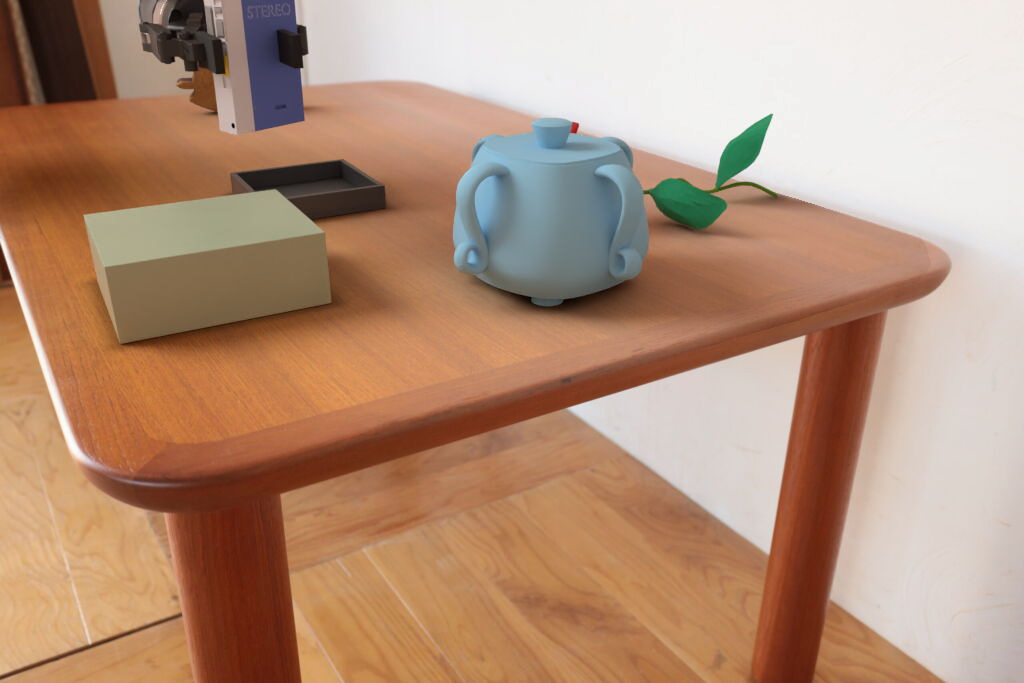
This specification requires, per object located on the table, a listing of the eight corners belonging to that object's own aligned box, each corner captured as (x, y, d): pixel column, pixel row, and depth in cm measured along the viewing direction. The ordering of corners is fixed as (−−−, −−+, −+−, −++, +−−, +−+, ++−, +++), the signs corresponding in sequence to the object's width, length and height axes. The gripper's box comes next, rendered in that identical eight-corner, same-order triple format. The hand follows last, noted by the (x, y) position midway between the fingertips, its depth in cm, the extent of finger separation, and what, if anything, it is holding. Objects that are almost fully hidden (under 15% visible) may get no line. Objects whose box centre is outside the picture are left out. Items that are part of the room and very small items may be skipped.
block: (97, 282, 76) (83, 214, 74) (283, 252, 83) (275, 188, 81) (120, 344, 65) (104, 267, 62) (331, 303, 72) (325, 232, 70)
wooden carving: (283, 104, 149) (276, 41, 144) (288, 109, 145) (282, 45, 141) (179, 112, 143) (169, 47, 138) (182, 118, 139) (171, 50, 135)
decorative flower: (833, 230, 89) (850, 132, 85) (547, 253, 83) (550, 148, 79) (766, 191, 102) (777, 104, 97) (512, 209, 95) (512, 116, 91)
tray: (232, 194, 100) (229, 172, 99) (345, 179, 106) (343, 158, 105) (263, 226, 90) (260, 202, 89) (386, 208, 96) (385, 185, 95)
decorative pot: (430, 309, 71) (423, 138, 65) (476, 243, 85) (474, 97, 79) (637, 326, 68) (648, 148, 62) (649, 254, 82) (659, 104, 77)
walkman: (285, 117, 85) (272, -18, 80) (305, 121, 84) (293, -17, 79) (216, 131, 80) (198, -14, 74) (236, 135, 78) (219, -12, 73)
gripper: (291, 58, 98) (369, 91, 80) (107, 71, 90) (147, 110, 72) (284, -15, 95) (363, 2, 77) (93, -9, 87) (130, 11, 68)
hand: (259, 54), depth 74 cm, fingers closed on walkman, 6 cm apart
